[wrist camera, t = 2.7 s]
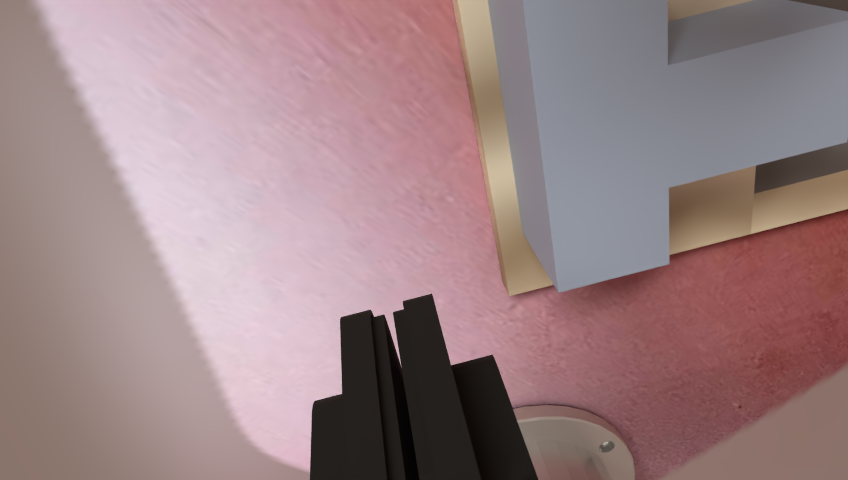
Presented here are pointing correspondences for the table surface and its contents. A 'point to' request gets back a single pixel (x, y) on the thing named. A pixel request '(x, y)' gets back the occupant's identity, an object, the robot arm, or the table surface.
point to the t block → (653, 114)
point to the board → (688, 203)
